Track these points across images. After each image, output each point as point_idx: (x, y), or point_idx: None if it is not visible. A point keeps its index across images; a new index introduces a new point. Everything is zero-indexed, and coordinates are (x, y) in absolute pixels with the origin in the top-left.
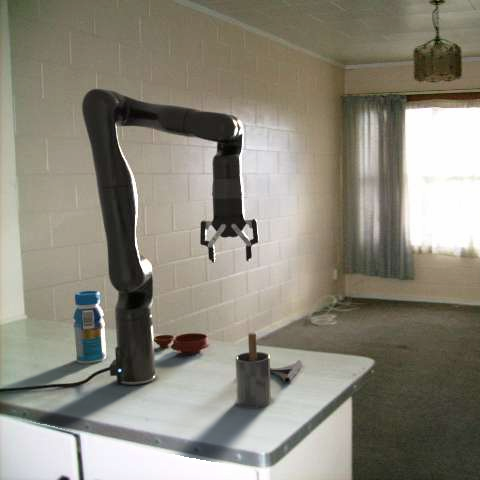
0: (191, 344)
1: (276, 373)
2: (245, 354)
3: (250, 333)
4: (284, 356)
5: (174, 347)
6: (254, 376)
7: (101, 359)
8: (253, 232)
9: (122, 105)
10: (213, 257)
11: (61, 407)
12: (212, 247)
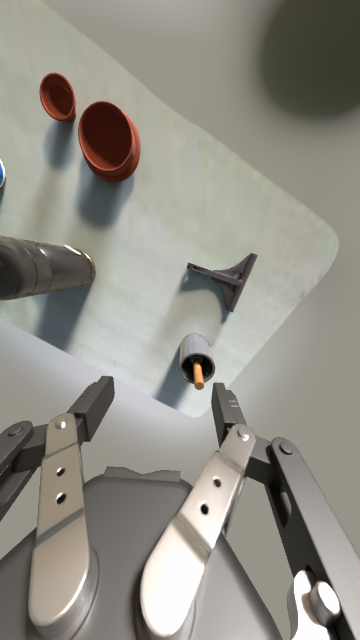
0: (113, 172)
1: (222, 288)
2: (189, 355)
3: (197, 384)
4: (242, 207)
5: (89, 164)
6: None
7: (3, 181)
8: (289, 550)
9: None
10: (105, 409)
11: (36, 328)
12: (83, 436)
